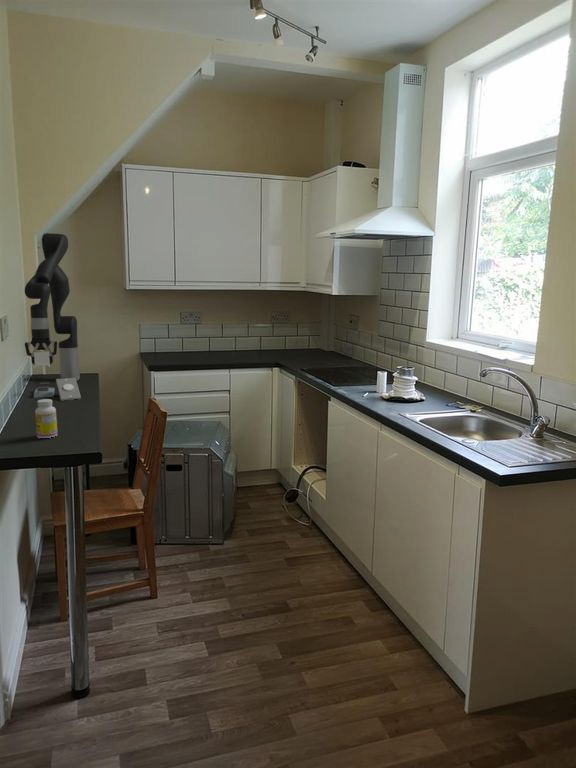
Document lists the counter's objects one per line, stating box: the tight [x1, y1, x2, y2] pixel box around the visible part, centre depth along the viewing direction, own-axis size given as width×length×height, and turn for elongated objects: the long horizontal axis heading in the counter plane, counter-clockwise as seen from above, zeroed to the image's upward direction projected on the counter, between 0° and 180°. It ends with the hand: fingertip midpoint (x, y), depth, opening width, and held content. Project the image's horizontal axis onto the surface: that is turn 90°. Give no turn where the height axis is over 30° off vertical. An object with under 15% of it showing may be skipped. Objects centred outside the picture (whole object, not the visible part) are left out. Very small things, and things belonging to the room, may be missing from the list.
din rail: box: [37, 381, 51, 394], centre depth 274 cm, size 14×4×3 cm, turn 18°
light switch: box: [55, 378, 82, 402], centre depth 268 cm, size 8×6×14 cm
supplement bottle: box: [34, 398, 58, 439], centre depth 203 cm, size 7×7×13 cm
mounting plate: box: [33, 387, 56, 399], centre depth 274 cm, size 14×8×2 cm, turn 18°
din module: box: [34, 350, 51, 369], centre depth 271 cm, size 5×6×7 cm
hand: (42, 364), depth 272 cm, fingers closed on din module, 6 cm apart
